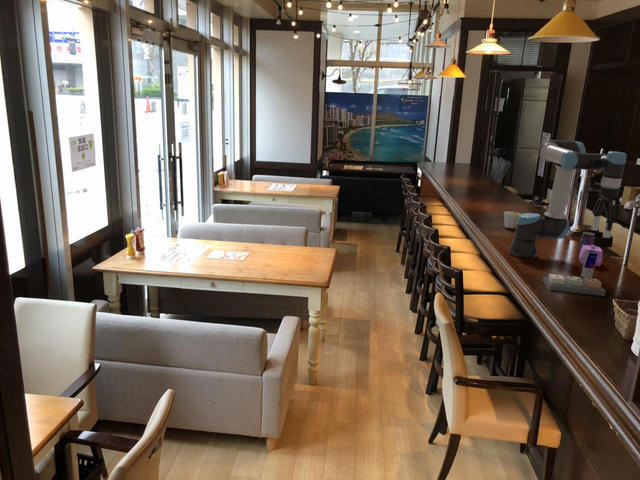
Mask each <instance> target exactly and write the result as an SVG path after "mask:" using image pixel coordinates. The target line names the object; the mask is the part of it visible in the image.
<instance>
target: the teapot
mask: <svg viewBox="0 0 640 480" xmlns="http://www.w3.org/2000/svg"><path fill="white" fill-rule="evenodd" d="M586 250H594V251H597V252H598V255H597V259H596V264H595V267H597V266H599V267H601V265H602V262H603V250H602V248H601V247H600V246H596V245H591V246H588V245H583V247H582V249H581V252H579V256H578V259H579V262H580V264H581V265H583V264H584V259H585V255H586Z"/></svg>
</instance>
